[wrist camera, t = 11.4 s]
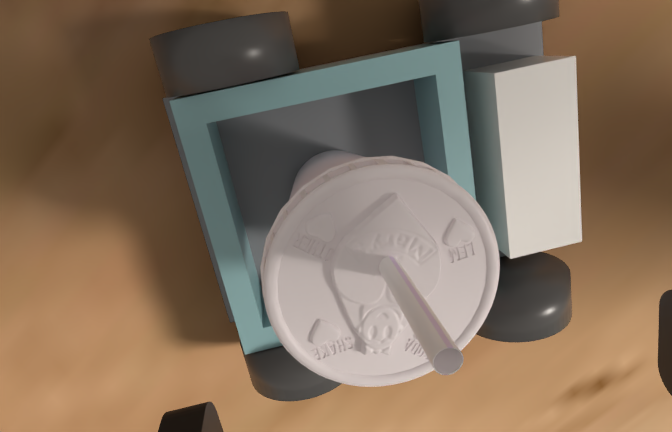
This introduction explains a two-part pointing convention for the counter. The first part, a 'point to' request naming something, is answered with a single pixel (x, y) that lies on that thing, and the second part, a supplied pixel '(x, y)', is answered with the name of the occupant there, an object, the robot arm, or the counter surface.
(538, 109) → the chassis
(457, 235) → the smoothie
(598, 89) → the counter surface
